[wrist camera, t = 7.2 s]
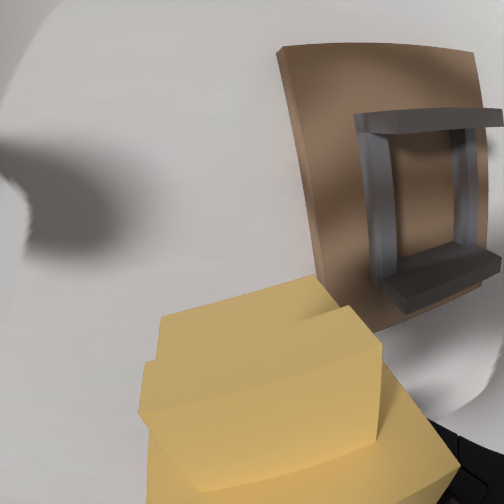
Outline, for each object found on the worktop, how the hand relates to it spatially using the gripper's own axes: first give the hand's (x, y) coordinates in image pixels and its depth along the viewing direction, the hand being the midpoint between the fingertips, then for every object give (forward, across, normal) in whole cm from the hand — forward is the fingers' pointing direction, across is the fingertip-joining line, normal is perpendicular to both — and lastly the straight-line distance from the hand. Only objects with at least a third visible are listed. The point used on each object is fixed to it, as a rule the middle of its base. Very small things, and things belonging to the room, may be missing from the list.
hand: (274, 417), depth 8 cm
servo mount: (+12, -12, -2) cm, 17 cm away
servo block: (+2, 0, 0) cm, 2 cm away
